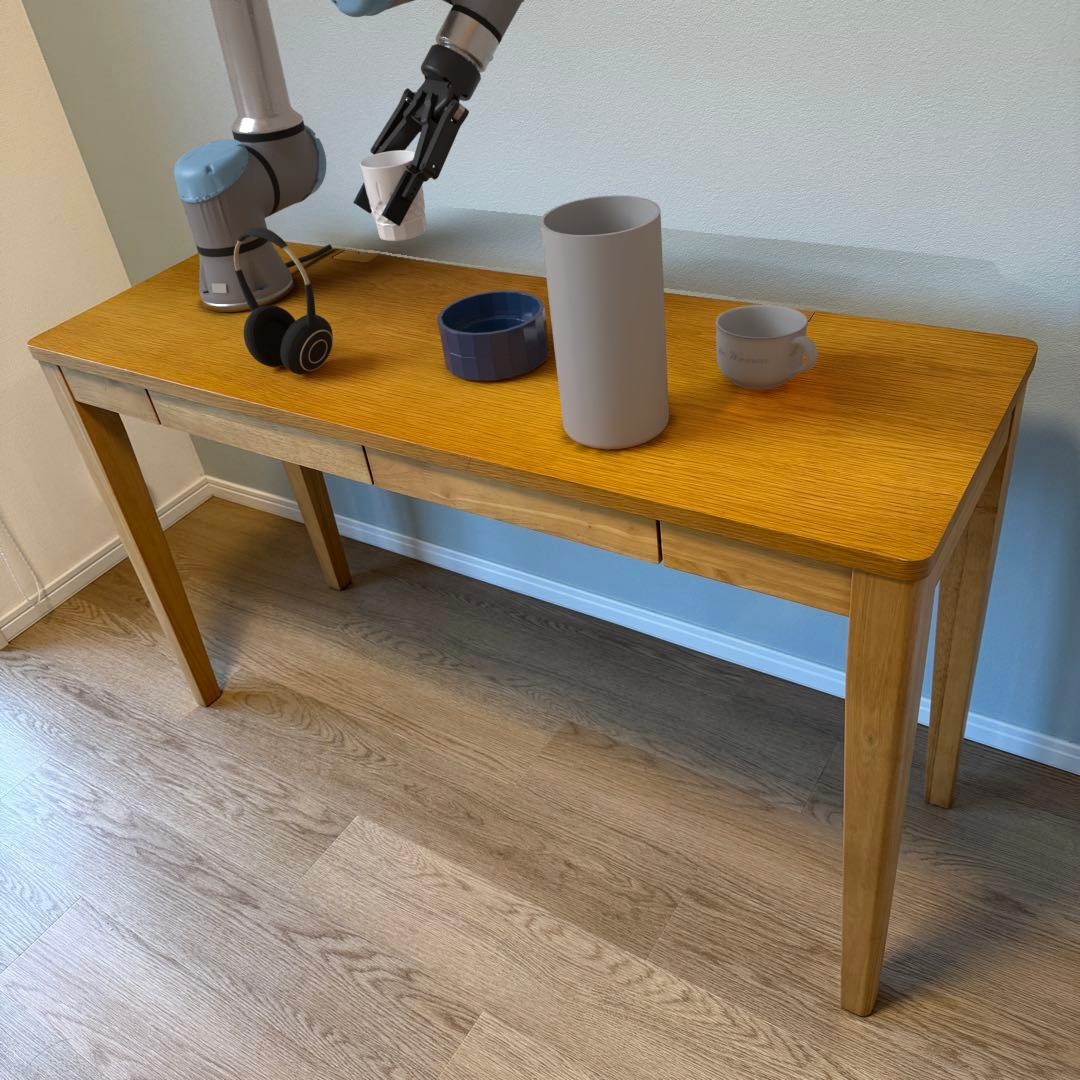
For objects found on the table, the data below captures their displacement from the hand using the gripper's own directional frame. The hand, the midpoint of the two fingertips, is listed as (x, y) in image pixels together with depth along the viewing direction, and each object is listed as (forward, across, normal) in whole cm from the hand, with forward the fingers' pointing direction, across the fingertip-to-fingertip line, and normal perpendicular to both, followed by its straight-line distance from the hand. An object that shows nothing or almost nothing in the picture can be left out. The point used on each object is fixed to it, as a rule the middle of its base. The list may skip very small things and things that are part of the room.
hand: (376, 214), depth 135 cm
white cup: (0, 0, -5) cm, 5 cm away
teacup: (-5, -48, -31) cm, 57 cm away
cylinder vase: (+9, -42, -18) cm, 46 cm away
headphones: (+24, +4, -2) cm, 24 cm away
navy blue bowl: (+9, -16, -17) cm, 25 cm away
